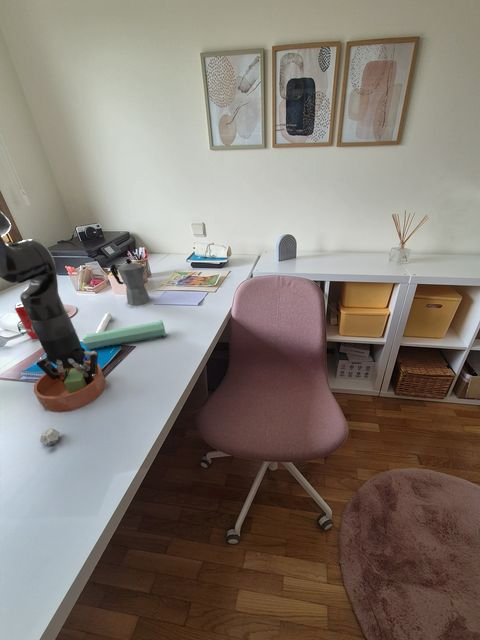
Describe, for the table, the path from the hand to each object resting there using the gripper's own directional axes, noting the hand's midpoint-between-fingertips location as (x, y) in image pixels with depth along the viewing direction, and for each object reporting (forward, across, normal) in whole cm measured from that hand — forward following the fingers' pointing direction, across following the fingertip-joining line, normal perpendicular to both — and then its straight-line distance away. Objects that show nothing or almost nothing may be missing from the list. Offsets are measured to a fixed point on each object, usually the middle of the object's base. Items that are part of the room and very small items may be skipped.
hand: (81, 386), depth 80 cm
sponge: (0, 0, 0) cm, 0 cm away
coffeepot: (+1, -7, -57) cm, 57 cm away
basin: (+1, +2, 0) cm, 2 cm away
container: (+1, -8, -23) cm, 24 cm away
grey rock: (+1, +2, +17) cm, 17 cm away
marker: (+1, +2, -36) cm, 36 cm away
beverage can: (+1, +23, -35) cm, 42 cm away
